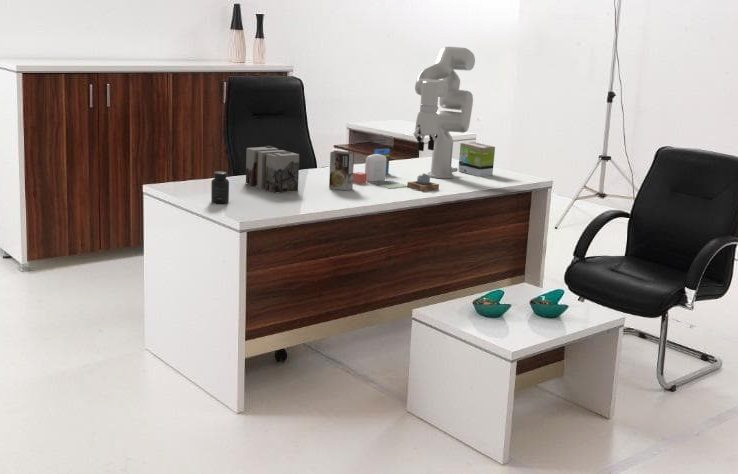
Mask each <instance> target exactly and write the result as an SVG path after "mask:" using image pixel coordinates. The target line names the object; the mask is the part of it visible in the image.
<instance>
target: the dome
mask: <svg viewBox="0 0 738 474" xmlns="http://www.w3.org/2000/svg"><path fill="white" fill-rule="evenodd" d="M416 180H417V184H421V185H429V184H430V182H431V181H430V180H431V177H430V176H428V173H420V174H419V175H418V176H417V179H416Z"/></svg>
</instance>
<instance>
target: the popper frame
mask: <svg viewBox="0 0 738 474" xmlns="http://www.w3.org/2000/svg"><path fill="white" fill-rule="evenodd" d="M406 183H407V184H406V185H407V187H406V188H409V189H413V190H415V191H419V192H430V191H438V190H439V189H440V184H439V183H435V182H431V181H430V184H429V185H421V184H417V181H416V180H413V181H407V182H406Z"/></svg>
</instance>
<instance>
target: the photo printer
mask: <svg viewBox="0 0 738 474" xmlns="http://www.w3.org/2000/svg"><path fill="white" fill-rule="evenodd" d="M386 161H387V160H386V156H384V155H380V154H374V153H373V154H369V155H368V156H366V157H365V163H364V164H365V166H364V173H367V178H366V183H367V182H368V183H370V182H379V181H386V175H387V174H386Z"/></svg>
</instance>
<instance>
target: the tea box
mask: <svg viewBox="0 0 738 474" xmlns="http://www.w3.org/2000/svg"><path fill="white" fill-rule="evenodd" d="M495 151H496V147H495V146H493V145H489V144H484V143H480V142H476V141H471V142H461V143H460V147H459V157H458V158H459V159H458V168H457V169H458V171H457V172H458V173H459V172H461V173H464V174H469V175H472V176H474V177H475V176H476V177H478V176H479V177H478V178H480V177H481V176H482V177H487V176H493V174H494V173H493V172H494V165H495V163H494V161H495V153H496V152H495ZM482 177H481V178H482Z"/></svg>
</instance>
